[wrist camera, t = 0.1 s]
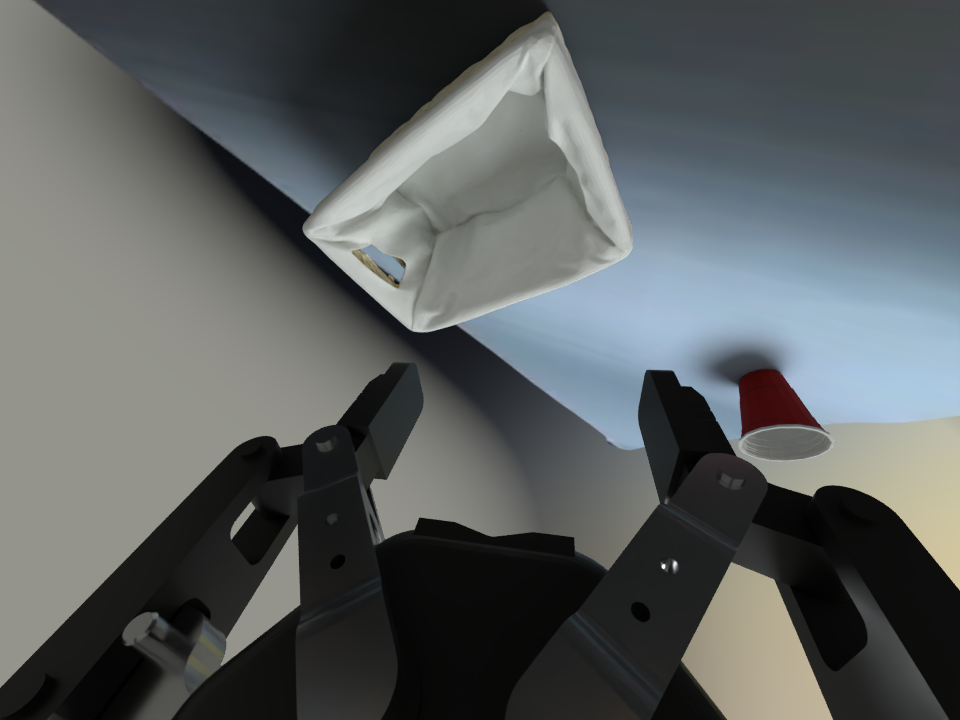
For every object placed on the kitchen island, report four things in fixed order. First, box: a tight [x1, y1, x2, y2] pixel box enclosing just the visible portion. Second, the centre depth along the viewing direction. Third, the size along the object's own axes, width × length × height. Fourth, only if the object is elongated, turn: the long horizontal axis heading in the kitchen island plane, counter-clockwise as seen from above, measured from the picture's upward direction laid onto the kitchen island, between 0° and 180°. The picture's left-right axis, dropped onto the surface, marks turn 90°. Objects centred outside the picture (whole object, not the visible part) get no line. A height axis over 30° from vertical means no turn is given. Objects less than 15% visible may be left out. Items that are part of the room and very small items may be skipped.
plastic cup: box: [738, 370, 835, 461], centre depth 54 cm, size 11×11×12 cm
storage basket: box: [303, 12, 633, 332], centre depth 32 cm, size 24×16×15 cm
